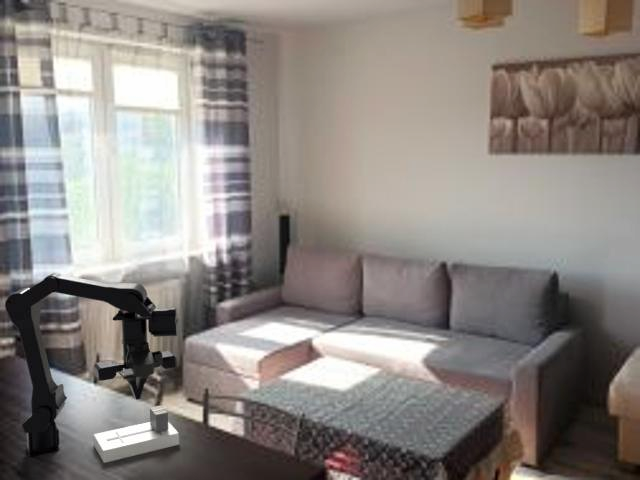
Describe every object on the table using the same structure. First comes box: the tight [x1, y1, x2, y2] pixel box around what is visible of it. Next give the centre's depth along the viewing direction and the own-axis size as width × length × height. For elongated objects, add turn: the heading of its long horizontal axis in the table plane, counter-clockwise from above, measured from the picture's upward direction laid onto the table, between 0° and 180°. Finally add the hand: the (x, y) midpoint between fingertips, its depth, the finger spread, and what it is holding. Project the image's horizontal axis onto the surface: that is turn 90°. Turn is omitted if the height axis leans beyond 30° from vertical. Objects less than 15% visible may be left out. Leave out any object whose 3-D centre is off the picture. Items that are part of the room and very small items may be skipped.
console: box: [93, 421, 180, 464], centre depth 157 cm, size 18×10×3 cm, turn 122°
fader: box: [149, 405, 169, 432], centre depth 159 cm, size 3×5×5 cm, turn 32°
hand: (137, 399), depth 155 cm, fingers closed
